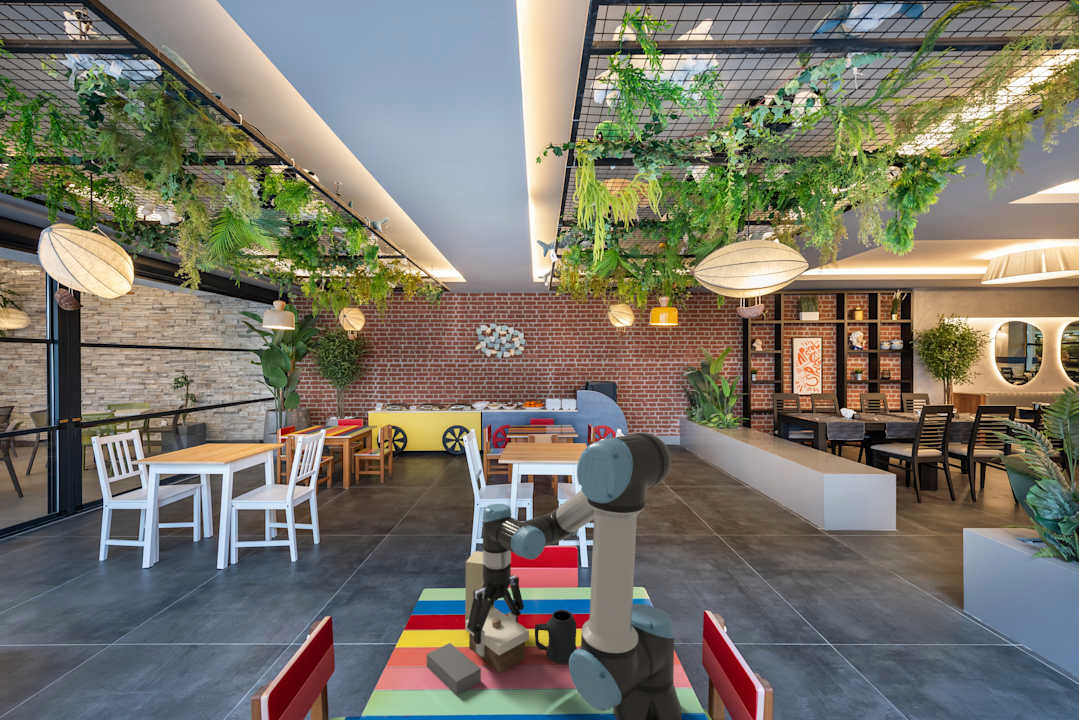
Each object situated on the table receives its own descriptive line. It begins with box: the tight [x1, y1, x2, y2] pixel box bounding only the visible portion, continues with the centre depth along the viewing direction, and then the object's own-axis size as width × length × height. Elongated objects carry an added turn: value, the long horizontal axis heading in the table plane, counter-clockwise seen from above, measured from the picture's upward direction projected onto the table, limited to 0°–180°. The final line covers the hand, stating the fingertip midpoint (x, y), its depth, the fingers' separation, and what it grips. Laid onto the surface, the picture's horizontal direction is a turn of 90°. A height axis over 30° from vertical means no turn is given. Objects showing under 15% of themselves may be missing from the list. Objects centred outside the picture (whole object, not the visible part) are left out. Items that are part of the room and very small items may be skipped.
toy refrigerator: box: [464, 550, 495, 622], centre depth 141 cm, size 8×7×21 cm
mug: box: [534, 609, 578, 665], centre depth 128 cm, size 12×9×11 cm
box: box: [468, 632, 526, 674], centre depth 128 cm, size 14×8×6 cm, turn 43°
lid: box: [464, 607, 530, 655], centre depth 128 cm, size 15×10×4 cm, turn 43°
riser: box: [426, 642, 482, 696], centre depth 120 cm, size 14×7×4 cm, turn 43°
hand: (496, 645), depth 128 cm, fingers closed on lid, 10 cm apart
